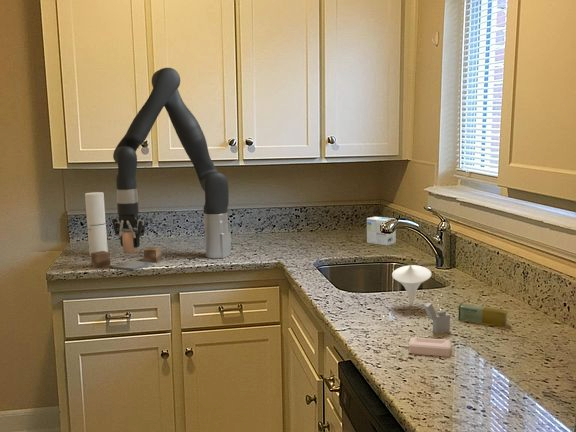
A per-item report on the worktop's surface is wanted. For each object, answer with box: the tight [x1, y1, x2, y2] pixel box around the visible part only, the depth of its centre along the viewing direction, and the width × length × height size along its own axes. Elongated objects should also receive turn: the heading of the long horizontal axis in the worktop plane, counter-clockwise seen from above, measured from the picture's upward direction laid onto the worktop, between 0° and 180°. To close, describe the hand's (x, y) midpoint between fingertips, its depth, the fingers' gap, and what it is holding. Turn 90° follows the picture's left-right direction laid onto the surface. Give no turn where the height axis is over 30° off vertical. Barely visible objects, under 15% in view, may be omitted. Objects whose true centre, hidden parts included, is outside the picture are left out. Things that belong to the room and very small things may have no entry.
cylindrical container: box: [84, 191, 109, 257], centre depth 244 cm, size 7×7×25 cm
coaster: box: [111, 259, 152, 271], centre depth 224 cm, size 10×10×1 cm
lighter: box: [422, 301, 451, 335], centre depth 148 cm, size 7×2×8 cm, turn 116°
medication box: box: [457, 303, 508, 327], centre depth 155 cm, size 12×3×4 cm, turn 59°
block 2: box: [143, 246, 163, 264], centre depth 232 cm, size 5×5×5 cm
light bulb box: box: [366, 216, 397, 246], centre depth 255 cm, size 11×7×11 cm, turn 46°
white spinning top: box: [391, 264, 432, 307], centre depth 169 cm, size 10×11×12 cm
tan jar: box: [121, 228, 139, 255], centre depth 222 cm, size 6×6×9 cm
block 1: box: [90, 251, 112, 269], centre depth 226 cm, size 5×5×5 cm
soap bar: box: [408, 336, 452, 357], centre depth 137 cm, size 5×9×2 cm, turn 74°
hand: (130, 246), depth 223 cm, fingers closed on tan jar, 5 cm apart
